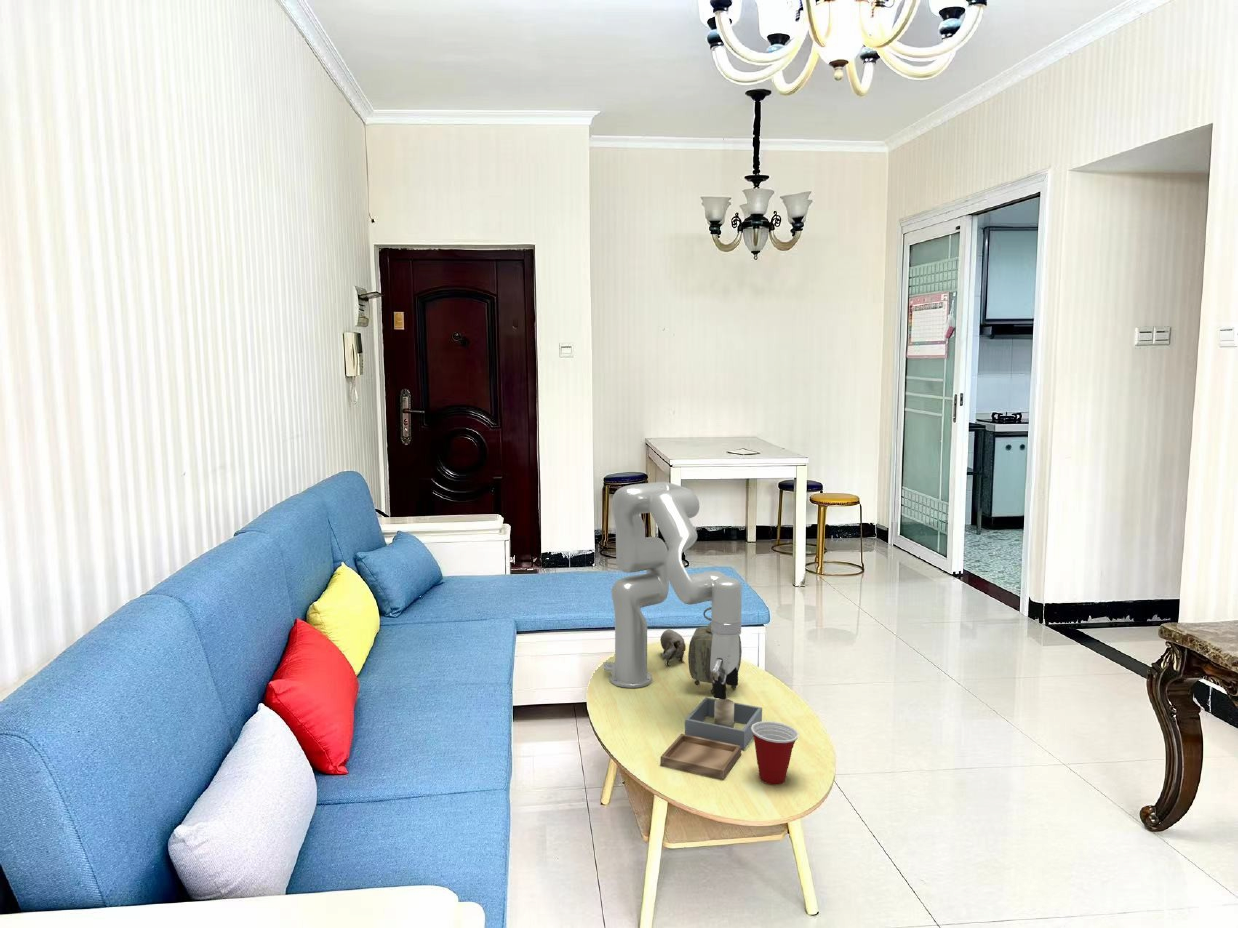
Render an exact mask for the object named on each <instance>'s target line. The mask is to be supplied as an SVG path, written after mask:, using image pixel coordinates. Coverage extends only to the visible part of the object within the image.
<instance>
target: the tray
mask: <svg viewBox="0 0 1238 928" xmlns="http://www.w3.org/2000/svg"><path fill="white" fill-rule="evenodd" d="M741 756H742V750H741V746H739V745H734V744H729V743H724V742H719V741H714V740H710V739H705V738H700V737H695V736H690V735H686V734H685V733H680V734H679V735H678V737H677V738H675V740H674V741H673V742H672V743H671V744H670V746H669V747H668V748H667V749H666V750H665V751H664V752H663V754H661V756H660V757H659V758H660V762H659V763H660V765H659V766H660V767H662V768H668V769H672V770H676V771H682V772H685V773H690V774H695V775H699V776H704V777H709V778H711V779H716V780H719V781H724V780H725V779H726V777H727V775H728V774H729V773H730V771H731V770H732V769H733V767H734V766H735V764H736V762H738V760H739V758H741Z"/></svg>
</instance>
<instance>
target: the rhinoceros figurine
mask: <svg viewBox="0 0 1238 928" xmlns="http://www.w3.org/2000/svg"><path fill="white" fill-rule="evenodd" d="M660 645H661V648H662V649H663V652H661V653H660V654H661V657H662V659H663V660H665V659H666V661H665V662H666V663H665V666H666V667H671V665H670V662H671V660H674V659H678V662H681V664H685V661H684V655H685V651H686V649H687V648H686V647H687V645H686V643H685V639H684V637H682V635H681V634H680V633H678V632H677V631H674V629H673V630H672V629H669V628H668V629H666V630H664V631H663V632H662V634H661V636H660Z"/></svg>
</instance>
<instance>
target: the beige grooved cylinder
mask: <svg viewBox="0 0 1238 928" xmlns="http://www.w3.org/2000/svg"><path fill="white" fill-rule="evenodd" d="M716 699H717V700H716V701H715V711H714V720H713V722H714V723H713V724H716V725H721V726H726V727H731V728H735V727H734V726H735V725H734V724H735V722H734V703H735V702H734V700H731V699H729V698H726V699H725V700H724V699H718V698H716Z"/></svg>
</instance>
